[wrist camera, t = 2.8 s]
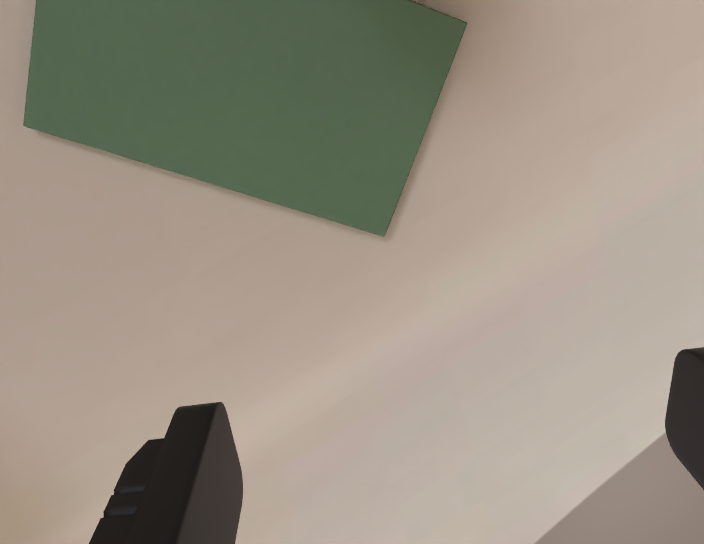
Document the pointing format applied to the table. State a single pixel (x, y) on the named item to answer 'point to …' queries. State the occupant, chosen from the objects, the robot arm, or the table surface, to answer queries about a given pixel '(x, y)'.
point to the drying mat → (250, 92)
